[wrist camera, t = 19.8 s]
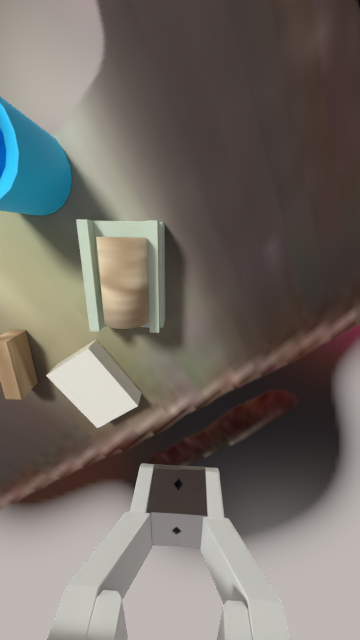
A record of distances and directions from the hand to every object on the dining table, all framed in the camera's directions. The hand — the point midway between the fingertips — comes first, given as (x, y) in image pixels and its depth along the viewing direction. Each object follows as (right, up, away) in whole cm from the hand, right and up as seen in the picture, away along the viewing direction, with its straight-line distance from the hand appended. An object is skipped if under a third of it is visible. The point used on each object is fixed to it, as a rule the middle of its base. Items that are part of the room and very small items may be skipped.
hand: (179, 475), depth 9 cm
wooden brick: (-21, +1, +22) cm, 30 cm away
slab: (-11, -2, +23) cm, 26 cm away
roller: (-6, +10, +15) cm, 19 cm away
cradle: (-6, +11, +18) cm, 22 cm away
